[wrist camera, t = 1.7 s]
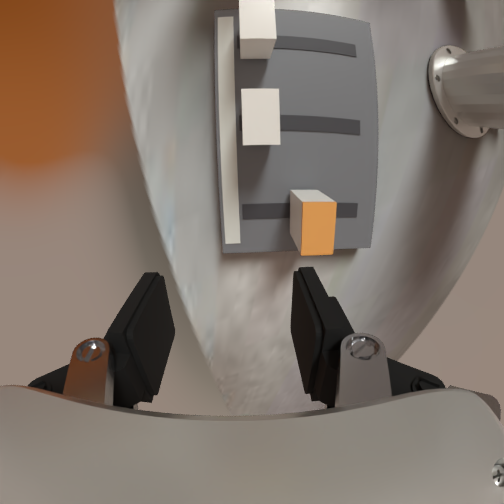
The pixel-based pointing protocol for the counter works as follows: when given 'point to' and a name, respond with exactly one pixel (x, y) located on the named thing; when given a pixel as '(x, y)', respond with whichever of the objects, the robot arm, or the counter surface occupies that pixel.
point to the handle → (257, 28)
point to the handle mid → (260, 116)
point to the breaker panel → (298, 129)
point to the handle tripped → (312, 222)
